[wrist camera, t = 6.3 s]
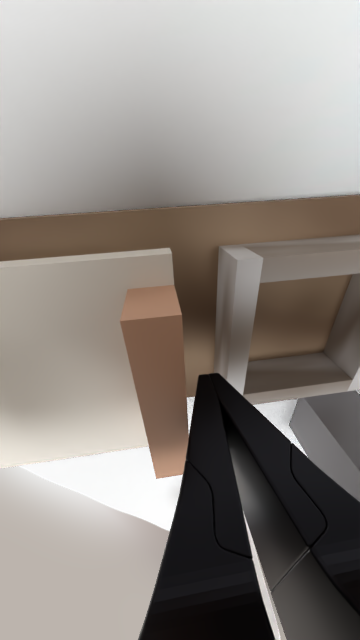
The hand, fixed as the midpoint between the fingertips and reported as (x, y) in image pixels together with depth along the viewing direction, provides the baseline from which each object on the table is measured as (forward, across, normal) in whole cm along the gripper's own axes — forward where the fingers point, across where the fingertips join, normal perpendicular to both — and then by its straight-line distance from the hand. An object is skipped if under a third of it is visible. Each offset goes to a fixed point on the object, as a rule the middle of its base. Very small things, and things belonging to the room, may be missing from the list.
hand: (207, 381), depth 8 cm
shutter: (+1, +6, 0) cm, 6 cm away
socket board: (+5, -2, 0) cm, 6 cm away
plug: (+5, -12, +11) cm, 17 cm away
